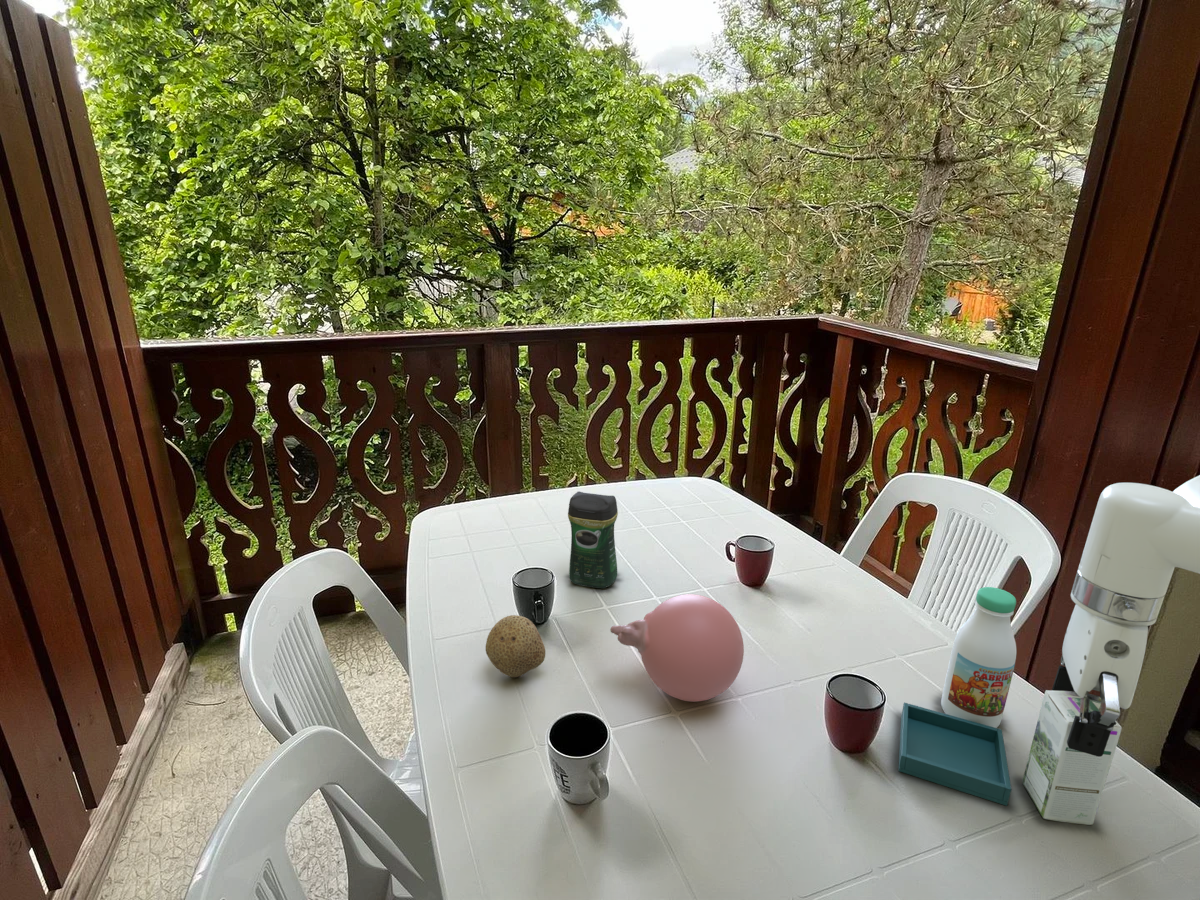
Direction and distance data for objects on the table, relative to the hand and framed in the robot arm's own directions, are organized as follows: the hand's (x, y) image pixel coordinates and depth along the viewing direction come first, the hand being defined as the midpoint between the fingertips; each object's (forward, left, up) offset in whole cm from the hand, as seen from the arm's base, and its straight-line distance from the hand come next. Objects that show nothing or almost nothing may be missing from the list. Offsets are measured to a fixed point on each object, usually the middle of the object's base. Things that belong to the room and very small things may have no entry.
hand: (1074, 722), depth 75 cm
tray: (+11, -3, -12) cm, 17 cm away
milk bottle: (+8, -13, -12) cm, 20 cm away
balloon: (+49, 0, -12) cm, 51 cm away
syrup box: (0, 0, -12) cm, 12 cm away
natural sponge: (+73, +8, -12) cm, 75 cm away
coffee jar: (+75, -24, -12) cm, 80 cm away
